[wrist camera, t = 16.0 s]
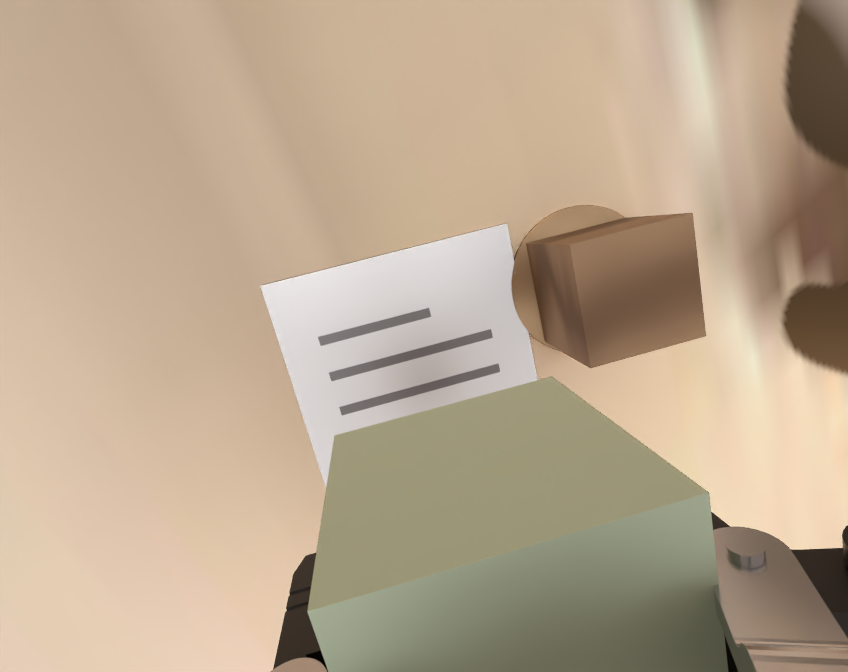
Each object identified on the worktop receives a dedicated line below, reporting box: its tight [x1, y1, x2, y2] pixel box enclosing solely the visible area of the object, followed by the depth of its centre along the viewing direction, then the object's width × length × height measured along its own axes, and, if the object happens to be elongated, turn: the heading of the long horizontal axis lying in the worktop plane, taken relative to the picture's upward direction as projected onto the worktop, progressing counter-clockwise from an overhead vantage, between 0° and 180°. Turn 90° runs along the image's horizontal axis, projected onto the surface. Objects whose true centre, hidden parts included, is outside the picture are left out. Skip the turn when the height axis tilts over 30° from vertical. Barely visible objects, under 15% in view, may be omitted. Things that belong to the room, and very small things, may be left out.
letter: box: [260, 223, 538, 487], centre depth 26 cm, size 12×13×1 cm
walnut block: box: [526, 213, 706, 368], centre depth 23 cm, size 6×6×6 cm
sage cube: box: [307, 377, 728, 672], centre depth 9 cm, size 6×6×6 cm
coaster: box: [511, 205, 625, 351], centre depth 26 cm, size 8×8×1 cm
